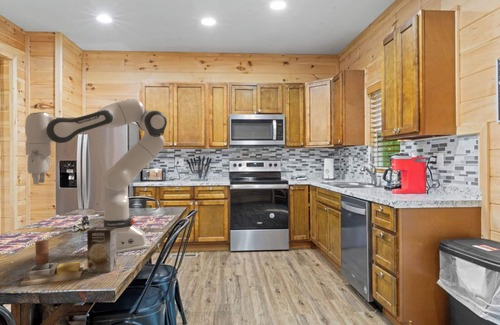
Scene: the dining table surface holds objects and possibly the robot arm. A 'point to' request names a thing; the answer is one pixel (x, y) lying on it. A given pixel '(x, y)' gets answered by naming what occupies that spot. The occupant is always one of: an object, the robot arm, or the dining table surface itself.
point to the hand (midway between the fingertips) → (39, 183)
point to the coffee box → (101, 249)
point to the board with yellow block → (53, 273)
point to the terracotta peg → (42, 255)
